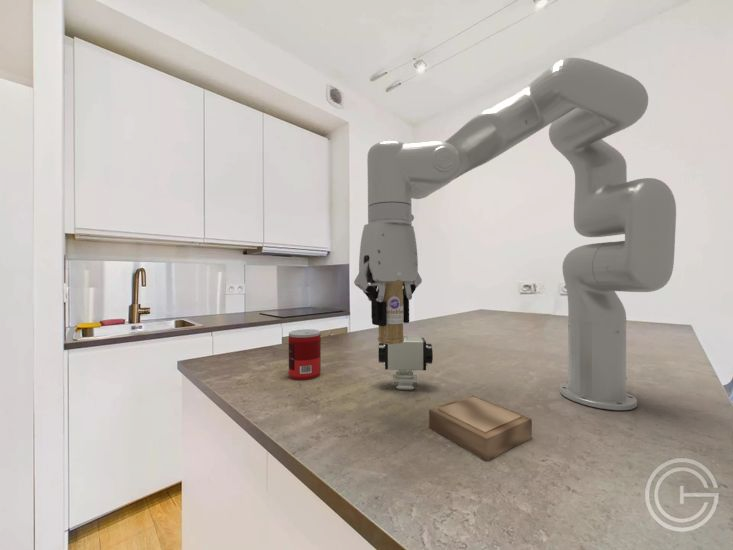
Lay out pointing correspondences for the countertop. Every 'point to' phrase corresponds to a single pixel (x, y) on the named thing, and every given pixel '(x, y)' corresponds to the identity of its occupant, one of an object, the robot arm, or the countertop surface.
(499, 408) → the tan square tray
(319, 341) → the canned food
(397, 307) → the sprinkles bottle
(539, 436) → the countertop surface
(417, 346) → the pneumatic valve
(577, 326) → the robot arm
